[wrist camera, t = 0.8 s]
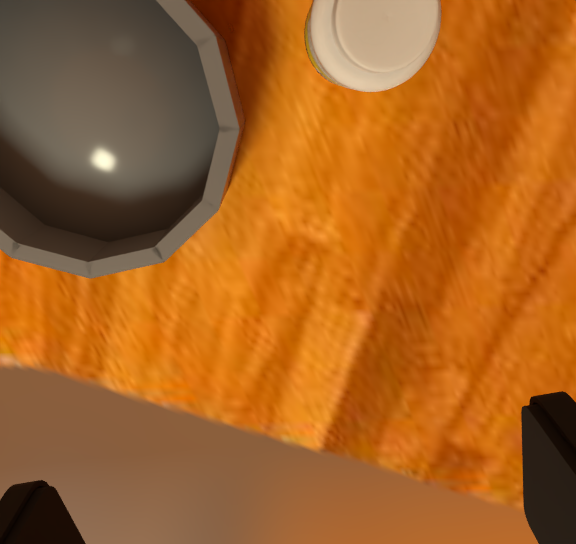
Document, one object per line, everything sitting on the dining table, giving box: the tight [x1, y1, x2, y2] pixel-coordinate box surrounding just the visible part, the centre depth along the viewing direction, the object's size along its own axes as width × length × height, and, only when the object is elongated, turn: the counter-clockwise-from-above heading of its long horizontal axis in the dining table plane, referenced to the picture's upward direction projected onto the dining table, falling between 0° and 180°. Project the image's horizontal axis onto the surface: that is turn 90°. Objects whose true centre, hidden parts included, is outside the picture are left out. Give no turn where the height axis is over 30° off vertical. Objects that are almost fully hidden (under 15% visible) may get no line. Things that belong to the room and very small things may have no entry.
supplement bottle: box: [304, 0, 441, 92], centre depth 23 cm, size 6×6×10 cm
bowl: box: [0, 0, 245, 278], centre depth 27 cm, size 17×17×4 cm
